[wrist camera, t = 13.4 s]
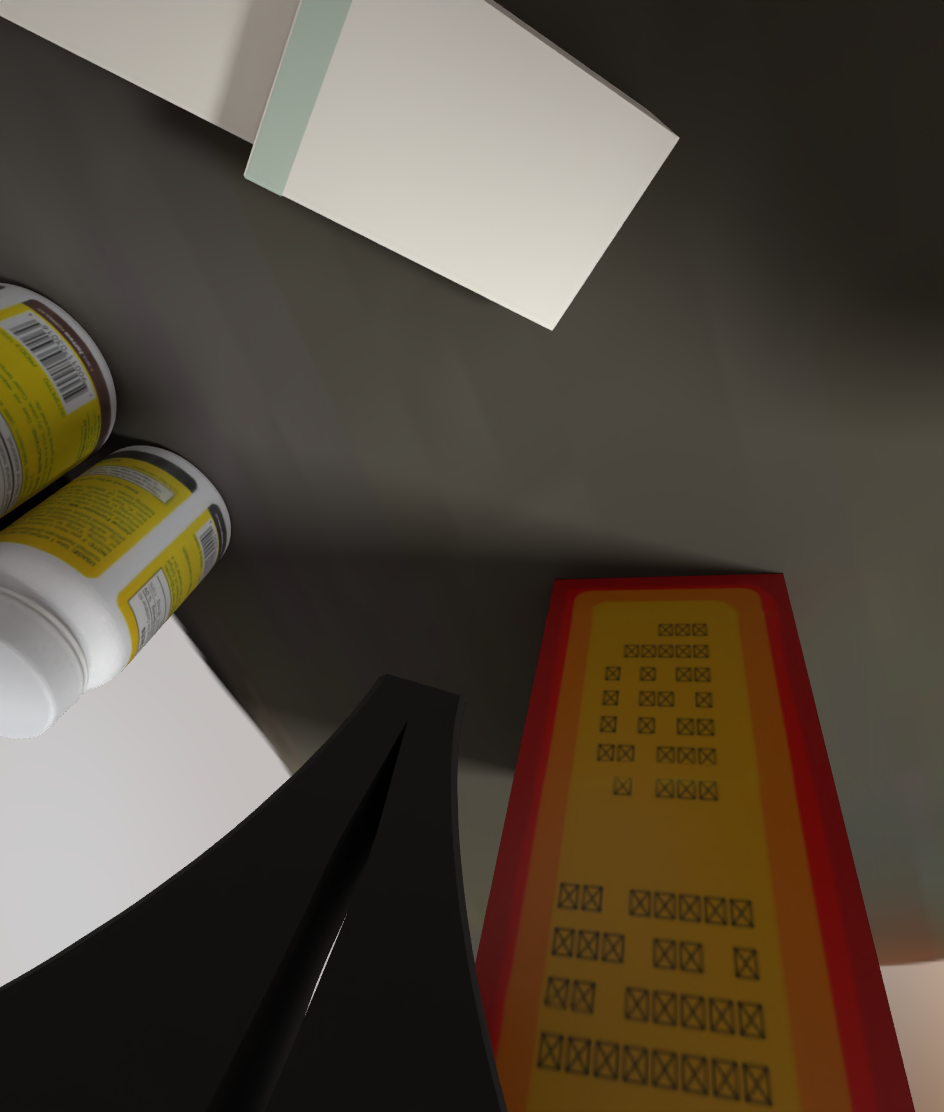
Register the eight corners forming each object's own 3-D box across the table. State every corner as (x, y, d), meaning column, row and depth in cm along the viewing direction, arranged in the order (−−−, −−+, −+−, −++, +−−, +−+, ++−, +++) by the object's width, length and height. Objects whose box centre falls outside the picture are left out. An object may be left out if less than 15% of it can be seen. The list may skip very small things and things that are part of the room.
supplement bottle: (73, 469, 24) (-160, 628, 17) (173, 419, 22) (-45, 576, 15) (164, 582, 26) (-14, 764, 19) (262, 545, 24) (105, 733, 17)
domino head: (680, 137, 14) (335, -107, 11) (552, 331, 16) (242, 177, 13) (649, 109, 15) (336, -113, 12) (535, 292, 18) (253, 144, 15)
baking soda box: (770, 796, 25) (887, 1555, 12) (584, 786, 27) (515, 1441, 14) (783, 573, 21) (995, 1438, 8) (554, 579, 22) (407, 1287, 9)
